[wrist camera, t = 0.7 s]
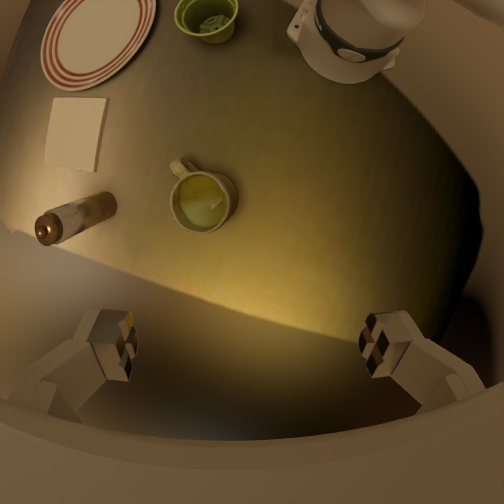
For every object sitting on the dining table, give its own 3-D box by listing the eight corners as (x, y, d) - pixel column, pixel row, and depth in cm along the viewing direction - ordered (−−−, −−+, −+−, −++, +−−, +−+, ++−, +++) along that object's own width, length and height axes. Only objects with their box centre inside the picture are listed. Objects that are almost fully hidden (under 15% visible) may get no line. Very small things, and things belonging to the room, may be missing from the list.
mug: (258, 216, 47) (227, 226, 39) (209, 233, 52) (172, 245, 44) (235, 146, 46) (199, 141, 38) (188, 169, 51) (149, 170, 42)
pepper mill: (96, 189, 50) (26, 212, 31) (118, 194, 50) (50, 219, 32) (93, 215, 52) (27, 247, 33) (115, 221, 52) (50, 256, 33)
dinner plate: (187, 24, 39) (182, 17, 36) (77, 119, 46) (67, 119, 42) (126, -40, 33) (120, -46, 29) (36, 43, 39) (27, 40, 36)
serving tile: (57, 98, 44) (54, 97, 43) (109, 99, 44) (106, 98, 43) (47, 163, 49) (43, 164, 47) (96, 171, 49) (93, 172, 48)
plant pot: (205, 62, 41) (191, 46, 33) (181, 26, 39) (164, 7, 31) (254, 36, 39) (250, 15, 31) (227, 1, 37) (218, -23, 29)
